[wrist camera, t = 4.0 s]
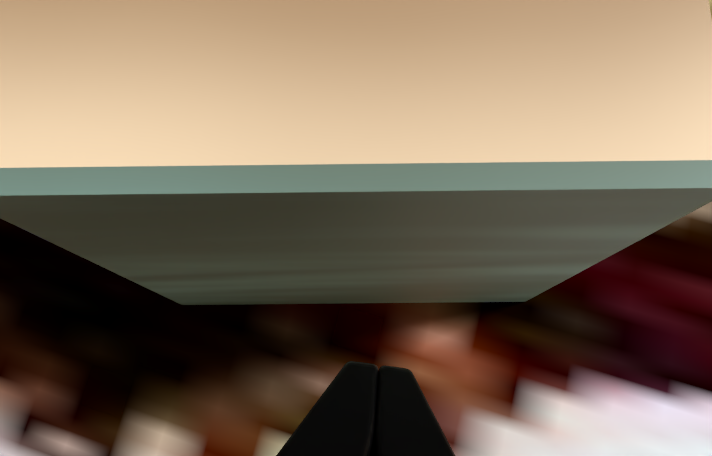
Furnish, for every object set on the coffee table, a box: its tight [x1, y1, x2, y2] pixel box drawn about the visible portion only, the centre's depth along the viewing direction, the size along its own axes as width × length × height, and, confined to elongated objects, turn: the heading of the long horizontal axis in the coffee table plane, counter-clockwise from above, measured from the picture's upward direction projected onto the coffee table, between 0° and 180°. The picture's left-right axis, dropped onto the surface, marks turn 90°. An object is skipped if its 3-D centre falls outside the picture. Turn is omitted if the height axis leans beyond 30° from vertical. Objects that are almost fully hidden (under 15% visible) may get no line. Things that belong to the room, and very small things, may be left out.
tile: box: [0, 0, 712, 305], centre depth 12 cm, size 4×8×9 cm, turn 91°
